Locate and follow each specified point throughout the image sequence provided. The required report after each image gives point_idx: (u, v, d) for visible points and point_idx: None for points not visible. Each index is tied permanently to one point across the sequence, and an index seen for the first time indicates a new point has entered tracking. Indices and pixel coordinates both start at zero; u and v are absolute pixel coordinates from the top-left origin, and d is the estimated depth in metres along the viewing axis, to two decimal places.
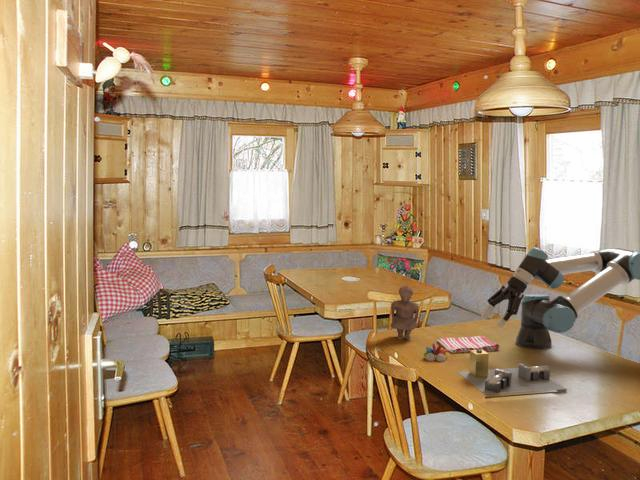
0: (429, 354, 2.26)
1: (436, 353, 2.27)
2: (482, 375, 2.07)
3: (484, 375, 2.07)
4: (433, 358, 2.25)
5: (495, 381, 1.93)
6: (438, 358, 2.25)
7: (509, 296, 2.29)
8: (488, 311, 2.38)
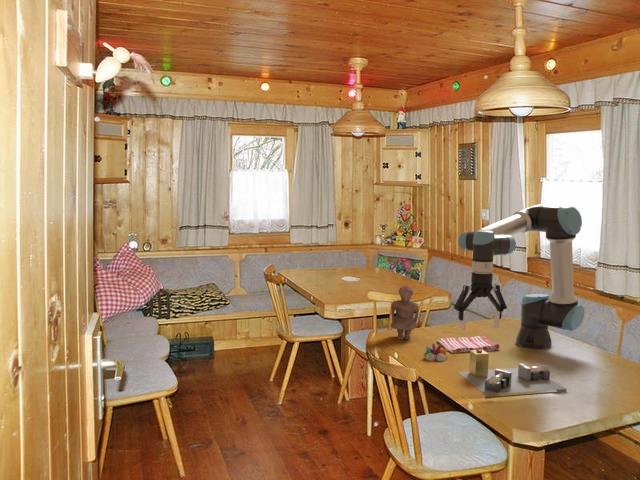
0: (429, 354, 2.26)
1: (436, 353, 2.27)
2: (482, 375, 2.07)
3: (484, 375, 2.07)
4: (433, 358, 2.26)
5: (495, 381, 1.93)
6: (438, 358, 2.25)
7: (490, 295, 2.05)
8: None
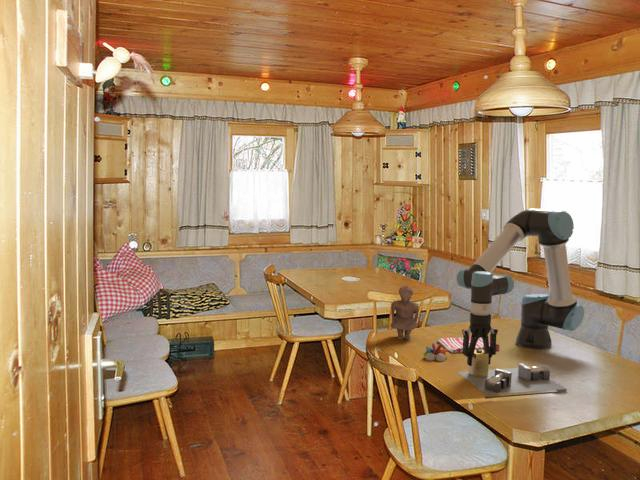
0: (429, 354, 2.26)
1: (436, 353, 2.27)
2: (482, 375, 2.07)
3: (484, 375, 2.07)
4: (433, 358, 2.26)
5: (495, 381, 1.93)
6: (438, 358, 2.25)
7: (487, 337, 2.06)
8: None
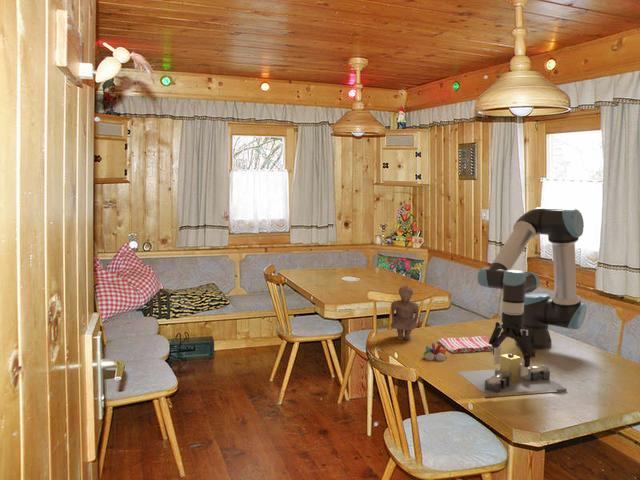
0: (429, 353, 2.27)
1: (436, 352, 2.28)
2: None
3: None
4: (432, 357, 2.26)
5: (495, 381, 1.93)
6: (437, 357, 2.26)
7: None
8: None
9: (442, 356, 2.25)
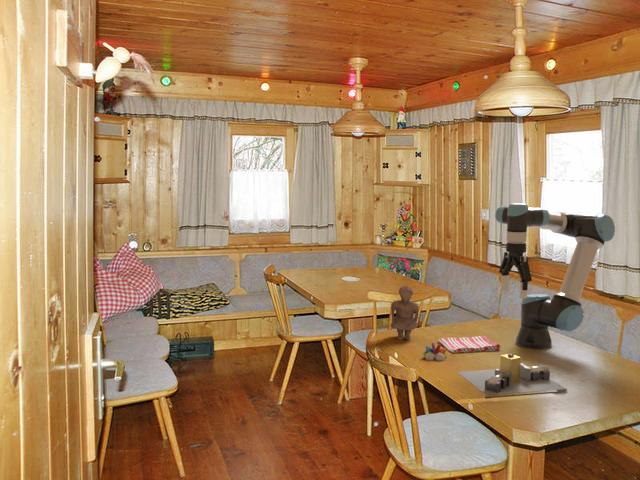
0: (428, 353, 2.27)
1: (435, 352, 2.28)
2: None
3: None
4: (432, 357, 2.27)
5: (495, 381, 1.93)
6: (437, 357, 2.26)
7: None
8: None
9: (442, 356, 2.26)
